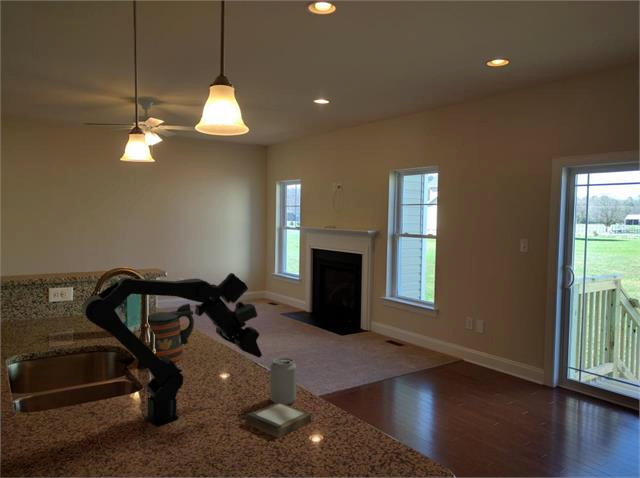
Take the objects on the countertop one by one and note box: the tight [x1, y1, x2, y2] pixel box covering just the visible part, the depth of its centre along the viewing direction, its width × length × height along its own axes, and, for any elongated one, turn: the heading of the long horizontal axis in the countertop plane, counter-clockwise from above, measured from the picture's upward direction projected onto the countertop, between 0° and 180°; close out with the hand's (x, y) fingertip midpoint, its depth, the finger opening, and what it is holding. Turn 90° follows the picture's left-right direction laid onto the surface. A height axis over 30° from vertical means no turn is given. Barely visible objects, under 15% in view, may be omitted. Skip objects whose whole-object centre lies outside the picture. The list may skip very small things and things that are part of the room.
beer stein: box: [147, 303, 195, 363], centre depth 173 cm, size 19×15×20 cm
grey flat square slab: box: [244, 402, 312, 439], centre depth 120 cm, size 12×12×3 cm
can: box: [269, 357, 297, 406], centre depth 134 cm, size 8×8×12 cm
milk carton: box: [109, 275, 141, 331], centre depth 209 cm, size 9×9×25 cm
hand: (253, 352), depth 135 cm, fingers open, 9 cm apart
